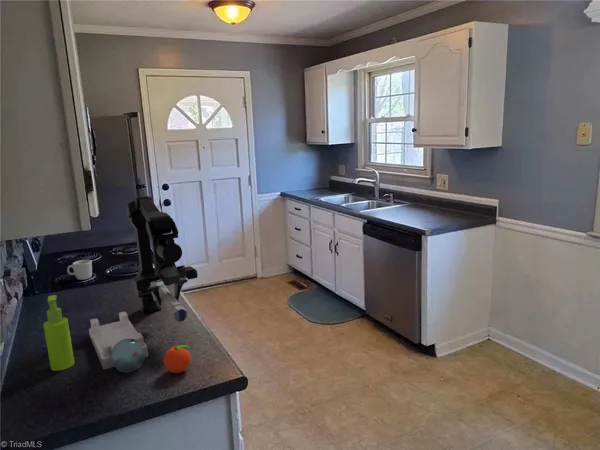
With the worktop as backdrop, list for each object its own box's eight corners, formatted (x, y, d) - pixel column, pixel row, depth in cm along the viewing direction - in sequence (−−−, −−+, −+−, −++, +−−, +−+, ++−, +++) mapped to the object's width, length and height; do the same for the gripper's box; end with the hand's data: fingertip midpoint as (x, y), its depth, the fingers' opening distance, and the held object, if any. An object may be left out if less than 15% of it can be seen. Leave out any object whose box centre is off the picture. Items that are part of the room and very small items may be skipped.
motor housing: (90, 337, 138) (86, 313, 137) (129, 327, 145) (126, 304, 143) (107, 379, 113) (103, 351, 111) (154, 364, 119) (150, 338, 118)
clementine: (188, 360, 121) (186, 337, 119) (200, 370, 115) (197, 345, 114) (161, 371, 116) (158, 346, 114) (171, 381, 111) (168, 355, 109)
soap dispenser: (74, 356, 126) (64, 291, 122) (74, 367, 120) (63, 299, 116) (51, 362, 123) (40, 295, 119) (50, 373, 117) (38, 303, 113)
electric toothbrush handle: (171, 311, 123) (148, 278, 143) (172, 331, 125) (150, 296, 145) (189, 306, 126) (164, 275, 146) (190, 326, 128) (165, 293, 148)
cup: (66, 282, 196) (63, 265, 195) (71, 277, 204) (69, 261, 202) (91, 280, 198) (89, 263, 197) (95, 274, 206) (93, 258, 204)
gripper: (138, 267, 121) (144, 319, 124) (201, 255, 131) (206, 303, 134) (129, 259, 131) (135, 307, 134) (189, 248, 140) (193, 294, 144)
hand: (168, 303), depth 136 cm, fingers closed on electric toothbrush handle, 5 cm apart
